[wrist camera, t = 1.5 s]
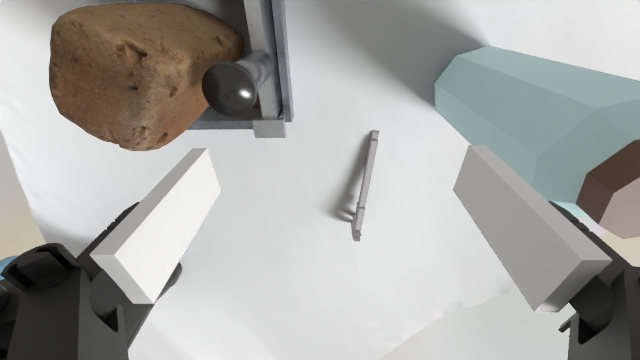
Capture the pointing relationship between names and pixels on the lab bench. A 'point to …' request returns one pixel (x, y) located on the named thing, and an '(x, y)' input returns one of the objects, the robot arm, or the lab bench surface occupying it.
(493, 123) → the water bottle
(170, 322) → the lab bench surface
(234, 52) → the brown stone
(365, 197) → the caliper
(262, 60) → the bar
